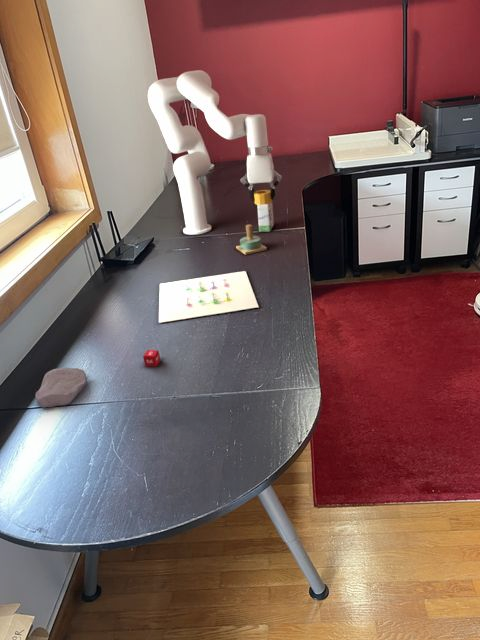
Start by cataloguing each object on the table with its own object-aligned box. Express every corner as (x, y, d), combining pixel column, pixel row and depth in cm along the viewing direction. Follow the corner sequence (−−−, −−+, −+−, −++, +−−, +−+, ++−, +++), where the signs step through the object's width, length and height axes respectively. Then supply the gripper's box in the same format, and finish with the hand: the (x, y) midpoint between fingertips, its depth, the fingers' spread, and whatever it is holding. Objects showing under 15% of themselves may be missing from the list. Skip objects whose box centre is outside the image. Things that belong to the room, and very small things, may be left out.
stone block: (90, 382, 128) (49, 380, 127) (89, 366, 126) (47, 364, 125) (79, 412, 118) (35, 410, 117) (78, 396, 116) (32, 394, 115)
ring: (253, 205, 196) (252, 194, 194) (255, 200, 202) (254, 190, 200) (271, 204, 195) (270, 193, 193) (272, 199, 201) (271, 189, 199)
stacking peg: (236, 248, 199) (233, 225, 194) (256, 243, 202) (254, 220, 197) (245, 255, 192) (242, 230, 187) (266, 249, 195) (264, 225, 190)
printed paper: (258, 308, 152) (258, 303, 151) (158, 323, 149) (157, 319, 148) (245, 271, 178) (245, 267, 177) (160, 284, 175) (159, 280, 174)
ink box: (262, 225, 222) (260, 198, 216) (274, 225, 220) (272, 197, 214) (258, 232, 214) (256, 204, 208) (270, 231, 213) (268, 203, 207)
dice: (156, 366, 129) (154, 356, 127) (145, 366, 129) (142, 356, 128) (160, 360, 131) (158, 350, 130) (149, 359, 132) (147, 350, 130)
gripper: (282, 147, 190) (285, 195, 200) (237, 151, 193) (242, 198, 202) (280, 151, 184) (284, 200, 193) (234, 155, 187) (239, 203, 196)
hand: (263, 198), depth 198 cm, fingers closed on ring, 6 cm apart
